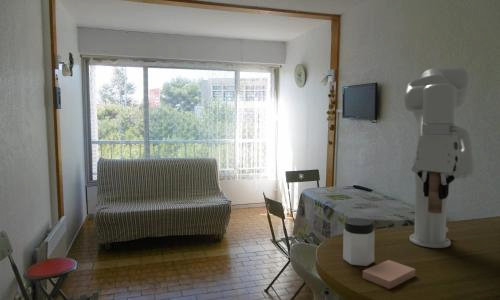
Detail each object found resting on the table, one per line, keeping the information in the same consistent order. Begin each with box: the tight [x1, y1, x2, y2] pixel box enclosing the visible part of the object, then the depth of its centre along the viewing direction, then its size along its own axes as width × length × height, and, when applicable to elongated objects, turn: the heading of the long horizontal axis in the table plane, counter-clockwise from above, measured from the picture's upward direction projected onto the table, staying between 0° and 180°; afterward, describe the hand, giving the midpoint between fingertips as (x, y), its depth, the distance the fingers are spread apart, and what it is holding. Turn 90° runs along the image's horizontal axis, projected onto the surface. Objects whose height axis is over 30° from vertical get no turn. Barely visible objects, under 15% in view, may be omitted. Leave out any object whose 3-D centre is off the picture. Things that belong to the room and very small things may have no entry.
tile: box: [362, 259, 416, 290], centre depth 97 cm, size 2×8×12 cm
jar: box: [342, 217, 376, 267], centre depth 108 cm, size 9×8×12 cm
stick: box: [428, 172, 442, 214], centre depth 98 cm, size 3×3×12 cm
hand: (435, 196), depth 99 cm, fingers closed on stick, 3 cm apart
